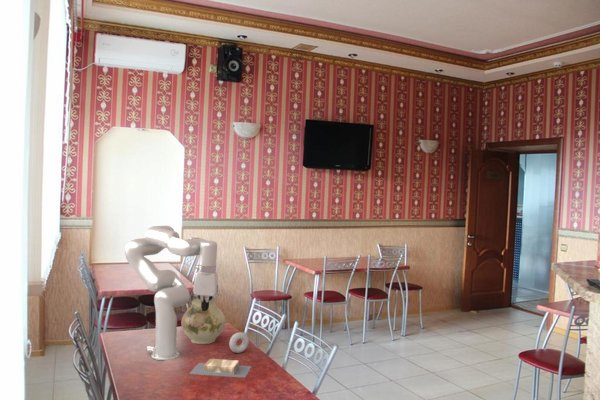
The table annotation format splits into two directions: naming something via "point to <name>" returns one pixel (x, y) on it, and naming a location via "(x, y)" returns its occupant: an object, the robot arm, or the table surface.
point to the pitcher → (202, 321)
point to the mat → (240, 372)
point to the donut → (235, 338)
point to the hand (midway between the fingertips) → (204, 310)
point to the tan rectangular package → (221, 366)
